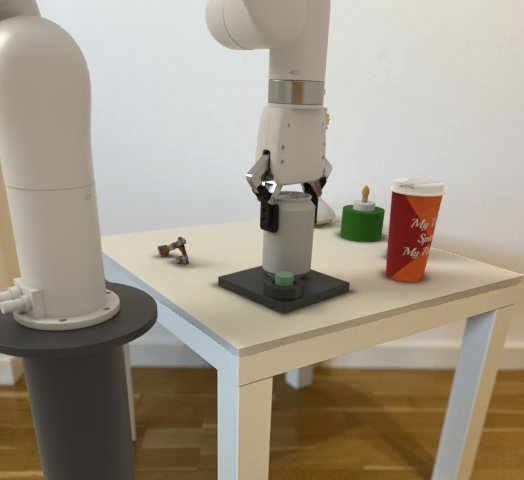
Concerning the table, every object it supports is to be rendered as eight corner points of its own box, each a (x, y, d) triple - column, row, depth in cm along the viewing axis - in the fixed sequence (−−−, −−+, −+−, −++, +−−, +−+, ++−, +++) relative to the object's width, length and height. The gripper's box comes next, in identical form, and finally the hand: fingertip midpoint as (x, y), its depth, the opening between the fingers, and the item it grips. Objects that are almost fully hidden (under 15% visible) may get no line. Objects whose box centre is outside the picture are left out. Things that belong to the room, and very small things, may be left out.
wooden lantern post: (185, 263, 88) (178, 236, 88) (163, 271, 95) (156, 245, 94) (195, 261, 89) (188, 234, 89) (172, 269, 96) (166, 243, 95)
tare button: (284, 289, 74) (284, 278, 74) (270, 284, 76) (271, 273, 75) (297, 285, 76) (298, 274, 75) (284, 280, 78) (284, 269, 77)
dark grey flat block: (283, 313, 73) (284, 292, 72) (217, 285, 82) (217, 266, 81) (349, 291, 82) (351, 272, 81) (283, 267, 91) (284, 250, 90)
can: (252, 273, 84) (254, 193, 78) (279, 262, 89) (282, 186, 84) (294, 284, 80) (299, 201, 74) (319, 271, 85) (325, 193, 80)
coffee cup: (414, 288, 84) (431, 188, 78) (369, 275, 89) (381, 180, 82) (439, 276, 90) (456, 182, 83) (395, 264, 95) (408, 174, 88)
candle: (377, 243, 106) (384, 191, 102) (336, 238, 109) (341, 187, 104) (384, 233, 113) (390, 184, 109) (344, 229, 116) (349, 180, 111)
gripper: (318, 94, 81) (309, 214, 89) (227, 94, 70) (227, 230, 78) (358, 97, 76) (345, 223, 84) (267, 97, 66) (262, 241, 73)
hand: (288, 225), depth 81 cm, fingers closed on can, 7 cm apart
